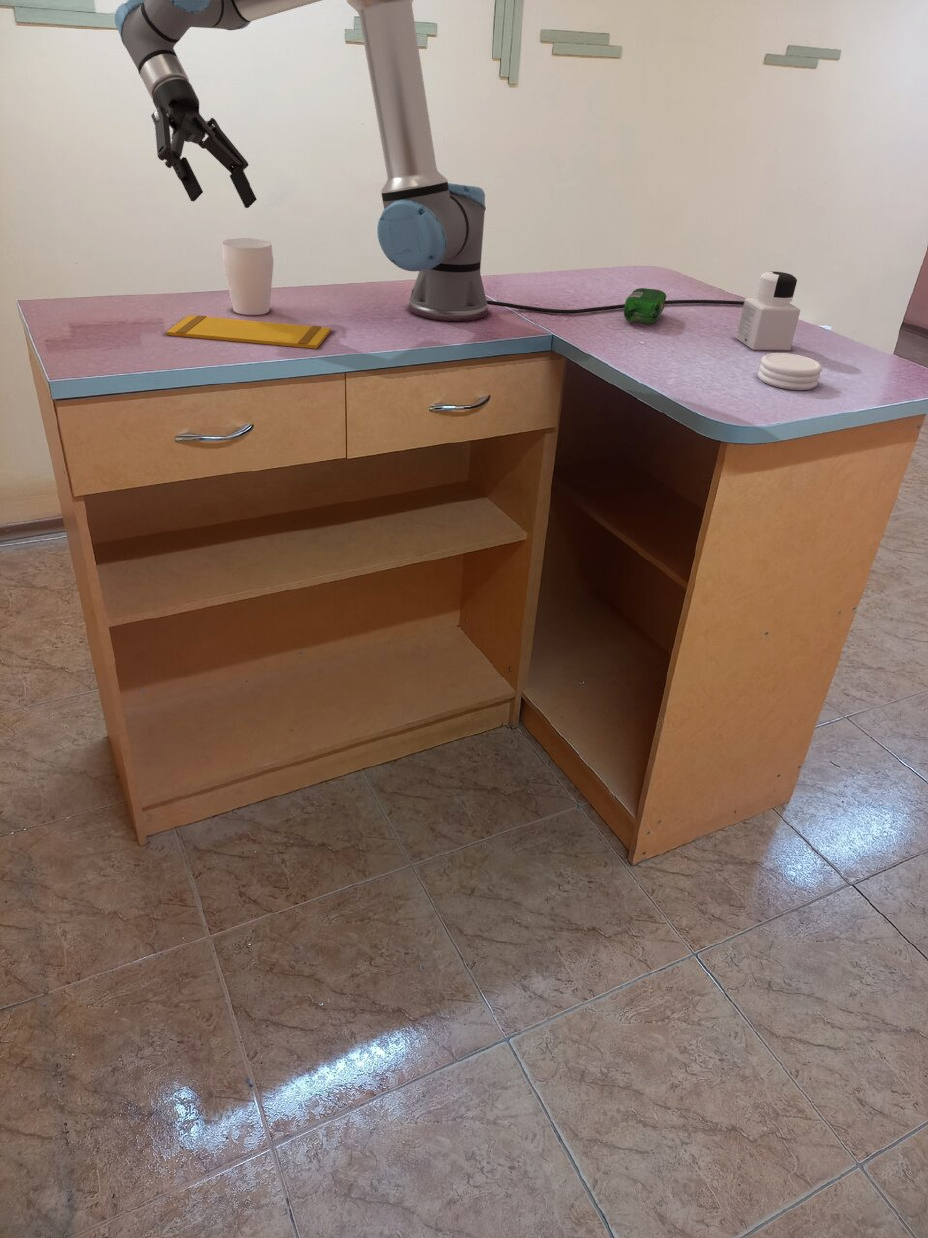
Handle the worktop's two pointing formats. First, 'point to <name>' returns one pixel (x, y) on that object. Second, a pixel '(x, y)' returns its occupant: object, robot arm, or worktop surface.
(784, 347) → the container
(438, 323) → the worktop surface
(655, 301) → the snack package
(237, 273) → the cup
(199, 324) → the towel
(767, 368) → the coaster
